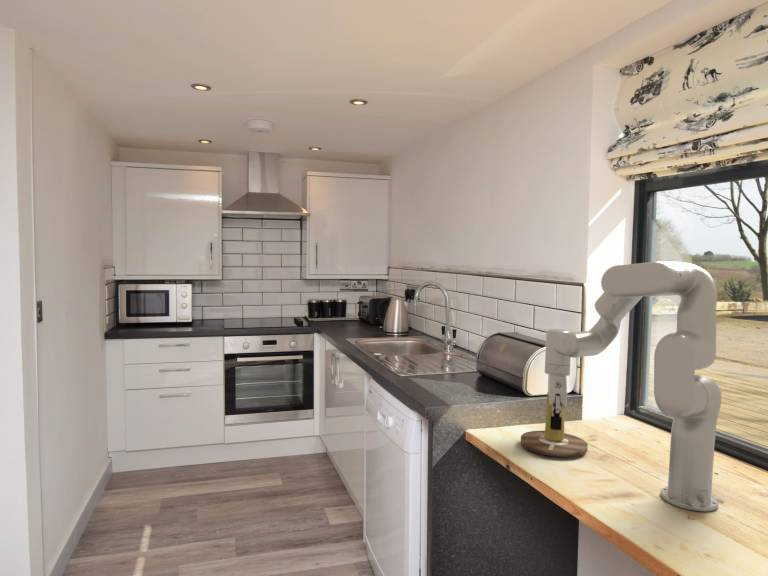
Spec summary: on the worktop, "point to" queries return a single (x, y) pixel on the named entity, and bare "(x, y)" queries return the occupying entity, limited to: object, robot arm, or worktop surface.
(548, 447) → the turntable
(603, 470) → the worktop surface
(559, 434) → the vase
